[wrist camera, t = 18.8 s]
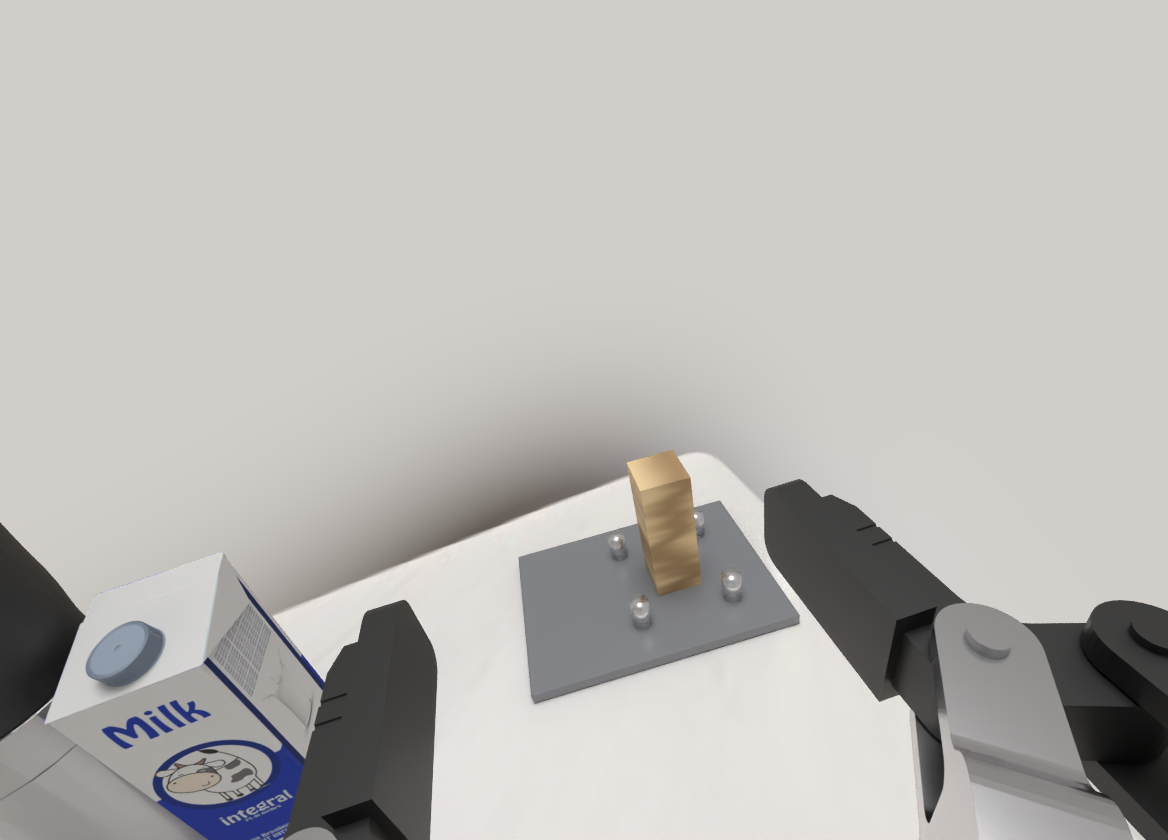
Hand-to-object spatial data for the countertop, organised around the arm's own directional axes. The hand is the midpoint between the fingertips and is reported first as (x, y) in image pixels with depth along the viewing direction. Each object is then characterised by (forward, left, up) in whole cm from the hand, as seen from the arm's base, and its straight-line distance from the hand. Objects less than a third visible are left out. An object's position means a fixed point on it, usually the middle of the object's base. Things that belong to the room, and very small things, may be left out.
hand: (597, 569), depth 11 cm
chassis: (+4, +23, -29) cm, 37 cm away
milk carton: (-24, +14, -29) cm, 40 cm away
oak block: (+7, +23, -28) cm, 37 cm away
